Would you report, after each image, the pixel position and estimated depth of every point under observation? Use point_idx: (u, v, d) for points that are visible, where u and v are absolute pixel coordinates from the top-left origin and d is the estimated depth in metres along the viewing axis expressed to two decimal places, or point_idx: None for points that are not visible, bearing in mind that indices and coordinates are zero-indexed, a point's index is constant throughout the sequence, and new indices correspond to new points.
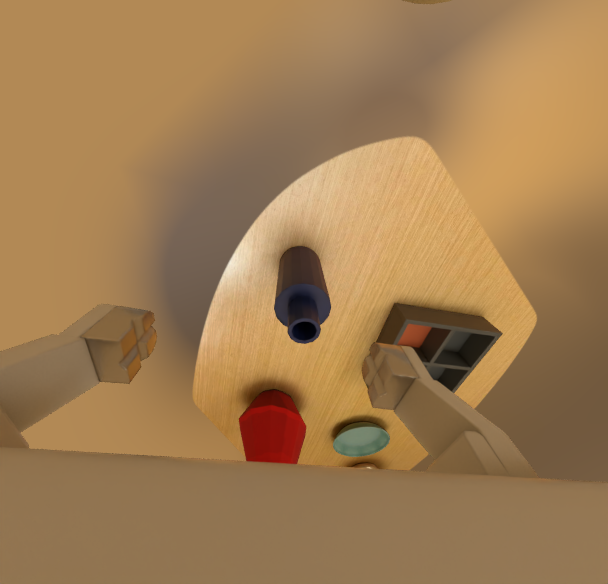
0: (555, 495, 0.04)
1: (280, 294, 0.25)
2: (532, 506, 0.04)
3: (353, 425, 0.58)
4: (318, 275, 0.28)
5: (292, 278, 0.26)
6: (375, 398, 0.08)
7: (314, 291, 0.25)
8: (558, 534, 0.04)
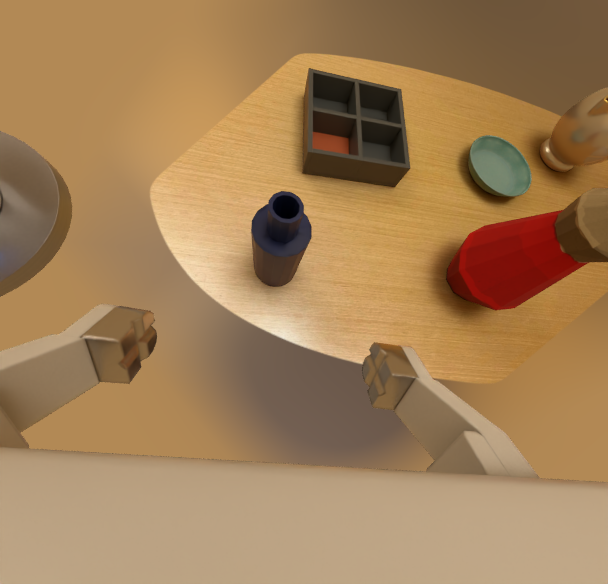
0: (555, 495, 0.04)
1: (267, 251, 0.24)
2: (532, 506, 0.04)
3: (476, 179, 0.47)
4: None
5: (255, 247, 0.25)
6: (374, 398, 0.08)
7: (259, 219, 0.25)
8: (557, 534, 0.04)
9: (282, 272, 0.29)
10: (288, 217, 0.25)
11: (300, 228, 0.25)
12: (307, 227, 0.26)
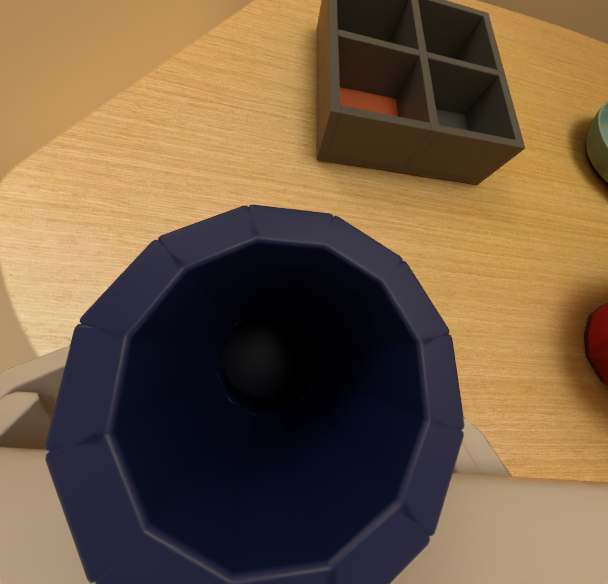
0: (555, 495, 0.04)
1: None
2: (532, 506, 0.04)
3: None
4: None
5: None
6: None
7: None
8: (558, 534, 0.04)
9: None
10: (296, 314, 0.05)
11: None
12: None
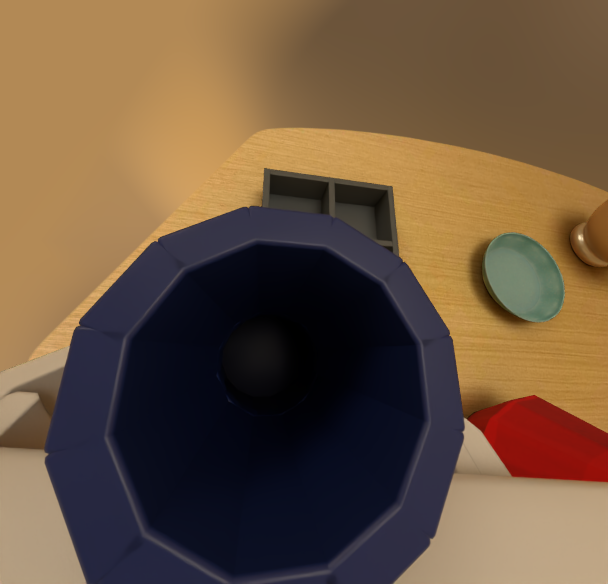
0: (555, 495, 0.04)
1: None
2: (532, 506, 0.04)
3: (493, 297, 0.36)
4: None
5: None
6: None
7: None
8: (558, 534, 0.04)
9: None
10: (296, 315, 0.05)
11: None
12: None
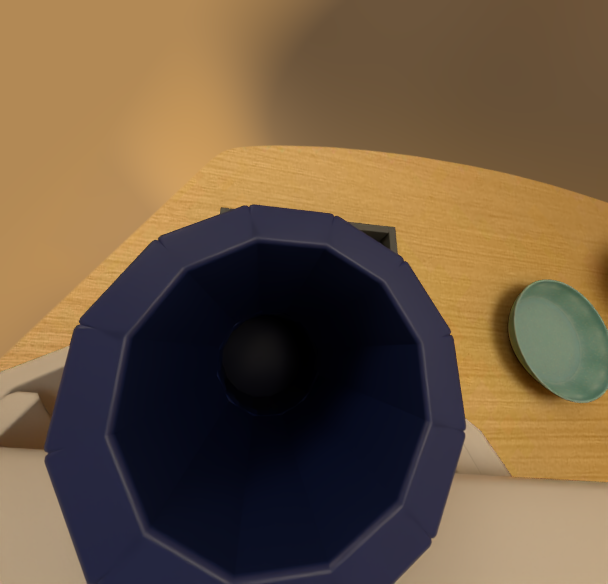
0: (555, 495, 0.04)
1: None
2: (532, 506, 0.04)
3: (525, 367, 0.28)
4: None
5: None
6: None
7: None
8: (558, 534, 0.04)
9: None
10: (297, 315, 0.05)
11: None
12: None
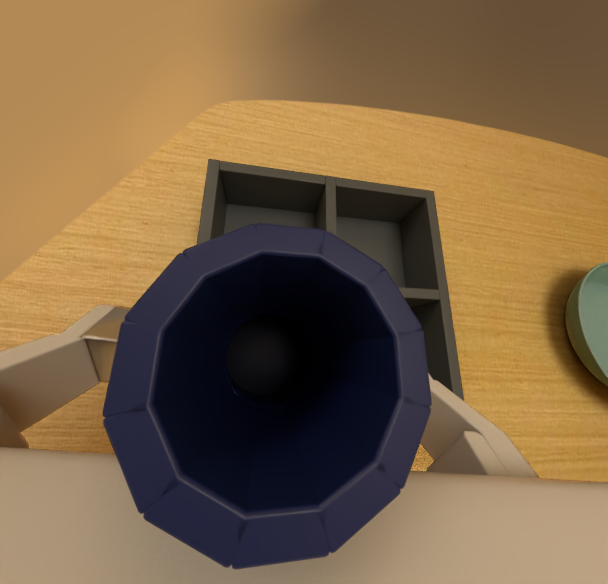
0: (555, 495, 0.04)
1: None
2: (532, 506, 0.04)
3: (593, 370, 0.22)
4: None
5: None
6: None
7: None
8: (557, 534, 0.04)
9: None
10: (296, 314, 0.06)
11: None
12: None
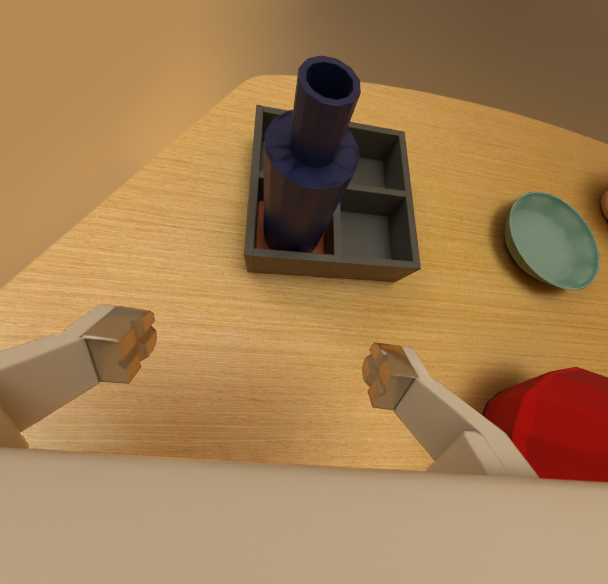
0: (555, 495, 0.04)
1: (291, 179, 0.14)
2: (532, 506, 0.04)
3: (519, 262, 0.31)
4: None
5: (269, 180, 0.16)
6: (374, 398, 0.08)
7: (277, 130, 0.15)
8: (558, 534, 0.04)
9: (308, 229, 0.20)
10: None
11: (341, 148, 0.16)
12: (352, 148, 0.16)
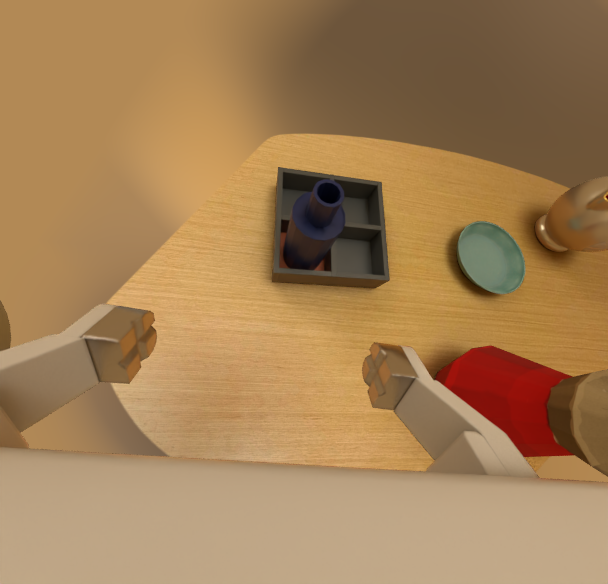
0: (555, 495, 0.04)
1: (307, 235, 0.26)
2: (532, 506, 0.04)
3: (465, 274, 0.43)
4: None
5: (294, 232, 0.28)
6: (375, 398, 0.08)
7: (299, 206, 0.27)
8: (557, 534, 0.04)
9: (315, 257, 0.31)
10: None
11: (335, 214, 0.28)
12: (341, 214, 0.28)
